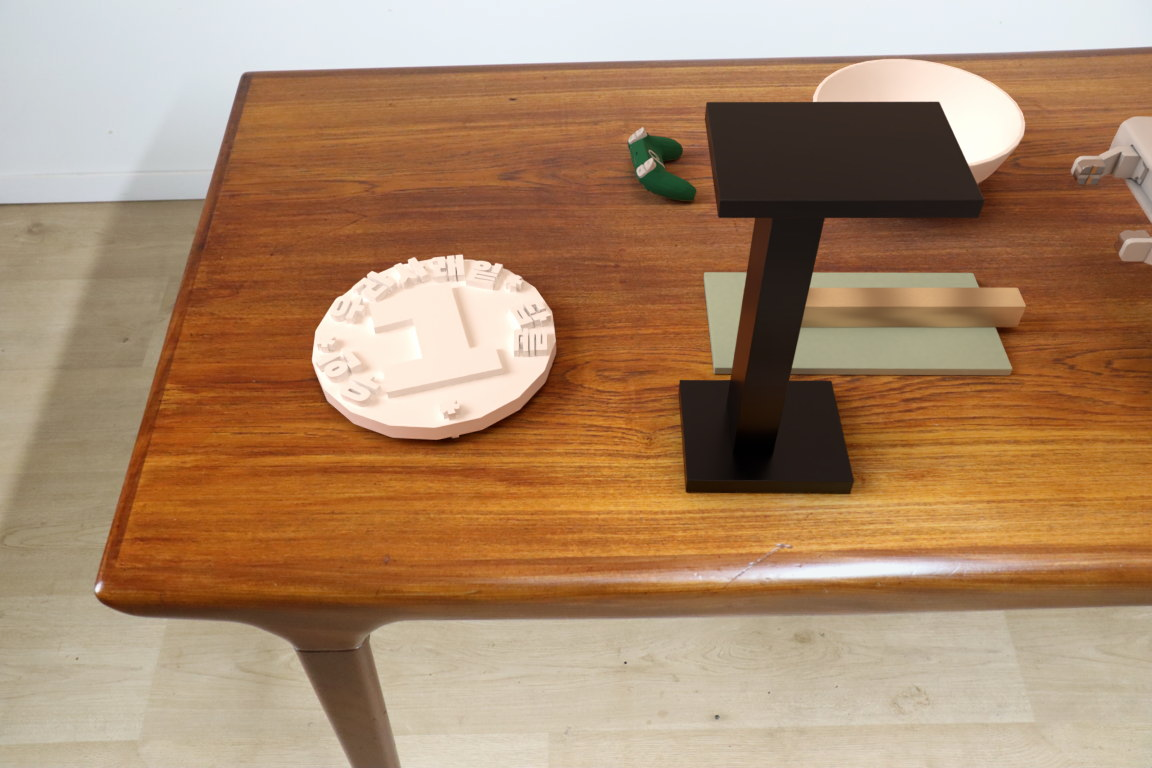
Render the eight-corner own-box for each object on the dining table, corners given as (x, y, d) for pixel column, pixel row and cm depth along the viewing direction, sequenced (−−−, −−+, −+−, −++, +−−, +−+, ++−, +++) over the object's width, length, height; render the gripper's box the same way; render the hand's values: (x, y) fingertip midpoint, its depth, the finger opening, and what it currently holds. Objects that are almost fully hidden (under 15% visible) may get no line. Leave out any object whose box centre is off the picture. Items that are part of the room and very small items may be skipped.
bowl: (832, 113, 105) (847, 42, 98) (1015, 158, 98) (1042, 85, 92) (771, 208, 93) (784, 134, 87) (974, 266, 86) (1003, 190, 80)
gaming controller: (657, 168, 101) (618, 137, 97) (684, 144, 99) (645, 111, 96) (673, 221, 95) (632, 189, 91) (702, 196, 93) (660, 163, 89)
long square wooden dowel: (1008, 308, 81) (1030, 259, 77) (1017, 327, 80) (1039, 278, 76) (740, 308, 82) (747, 259, 78) (743, 327, 80) (750, 278, 76)
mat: (970, 279, 85) (973, 272, 85) (1009, 375, 77) (1013, 369, 76) (703, 278, 86) (704, 271, 85) (713, 374, 78) (714, 367, 77)
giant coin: (288, 439, 73) (279, 414, 71) (348, 274, 87) (342, 249, 85) (545, 451, 72) (544, 426, 70) (565, 282, 86) (565, 257, 84)
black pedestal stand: (853, 393, 76) (939, 101, 57) (877, 494, 69) (985, 200, 50) (678, 392, 76) (706, 101, 57) (685, 492, 69) (720, 200, 50)
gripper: (1239, 96, 77) (1066, 97, 77) (1381, 259, 63) (1169, 259, 63) (1203, 162, 81) (1039, 163, 82) (1327, 328, 67) (1129, 328, 68)
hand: (1096, 206), depth 72 cm, fingers open, 8 cm apart
